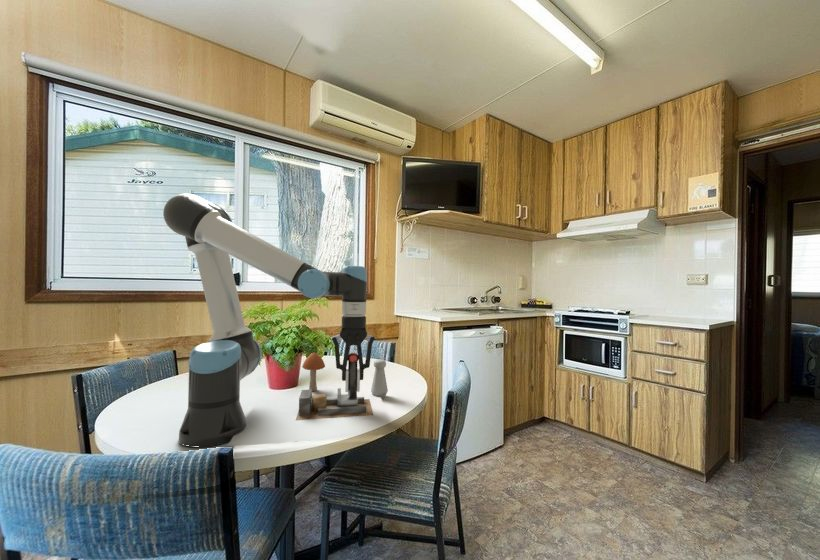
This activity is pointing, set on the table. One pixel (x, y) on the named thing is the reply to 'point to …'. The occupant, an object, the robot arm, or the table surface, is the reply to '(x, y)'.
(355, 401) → the handle
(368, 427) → the table surface
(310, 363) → the mushroom
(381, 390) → the salt shaker
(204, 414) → the robot arm
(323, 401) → the brown wooden cube
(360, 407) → the press bench
